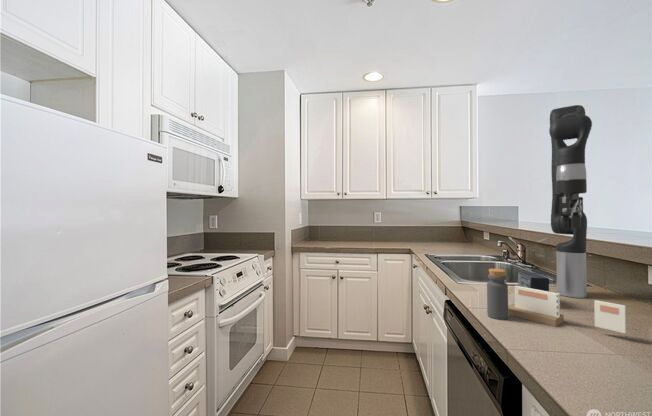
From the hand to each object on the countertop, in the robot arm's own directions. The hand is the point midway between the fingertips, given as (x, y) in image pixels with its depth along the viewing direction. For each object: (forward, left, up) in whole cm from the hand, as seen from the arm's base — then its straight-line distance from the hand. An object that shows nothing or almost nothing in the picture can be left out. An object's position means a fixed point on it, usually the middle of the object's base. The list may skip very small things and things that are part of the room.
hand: (572, 229), depth 96 cm
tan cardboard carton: (+12, -6, -28) cm, 31 cm away
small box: (-5, -13, -28) cm, 31 cm away
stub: (+12, +11, -26) cm, 31 cm away
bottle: (+20, -14, -28) cm, 37 cm away
